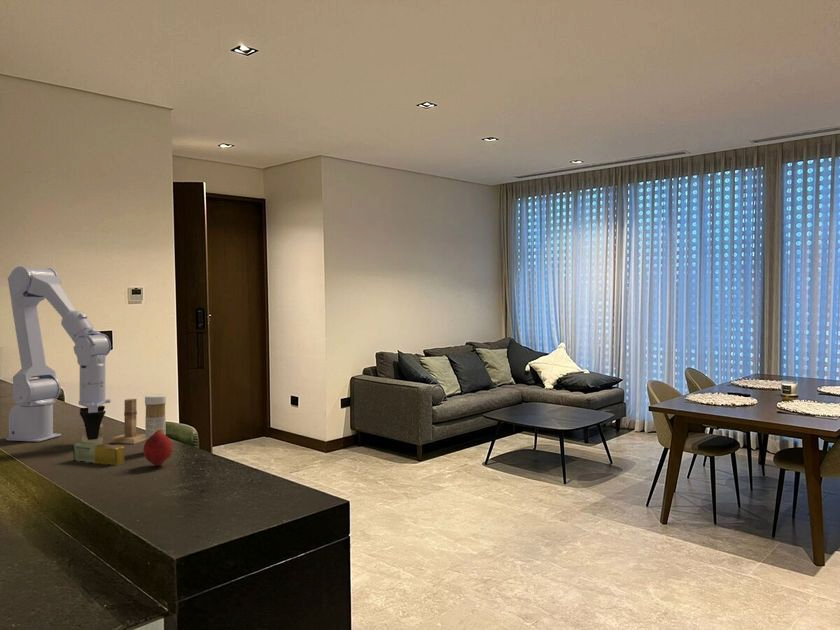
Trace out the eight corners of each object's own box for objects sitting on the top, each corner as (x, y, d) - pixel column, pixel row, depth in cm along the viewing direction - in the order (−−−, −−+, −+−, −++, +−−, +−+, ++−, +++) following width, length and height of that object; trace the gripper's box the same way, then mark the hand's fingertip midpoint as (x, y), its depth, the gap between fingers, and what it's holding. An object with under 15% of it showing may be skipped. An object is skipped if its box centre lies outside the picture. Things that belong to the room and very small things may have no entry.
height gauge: (112, 442, 158) (112, 400, 158) (126, 437, 164) (126, 397, 164) (134, 443, 157) (134, 401, 157) (148, 438, 163) (148, 398, 163)
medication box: (72, 462, 139) (72, 444, 139) (82, 458, 142) (81, 441, 142) (116, 466, 136) (116, 448, 136) (125, 463, 138) (125, 445, 138)
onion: (161, 470, 132) (162, 432, 132) (137, 468, 133) (137, 431, 133) (178, 463, 138) (178, 427, 138) (154, 462, 139) (154, 426, 139)
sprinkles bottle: (162, 448, 152) (162, 393, 152) (168, 452, 148) (168, 395, 148) (142, 451, 149) (142, 394, 149) (148, 455, 145) (148, 397, 145)
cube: (82, 443, 157) (82, 425, 157) (102, 441, 159) (102, 423, 159) (82, 446, 153) (82, 428, 153) (102, 444, 156) (102, 426, 155)
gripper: (111, 385, 152) (111, 441, 152) (109, 379, 165) (109, 430, 165) (78, 386, 148) (78, 444, 149) (78, 380, 161) (78, 433, 161)
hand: (92, 437), depth 156 cm, fingers closed on cube, 4 cm apart
